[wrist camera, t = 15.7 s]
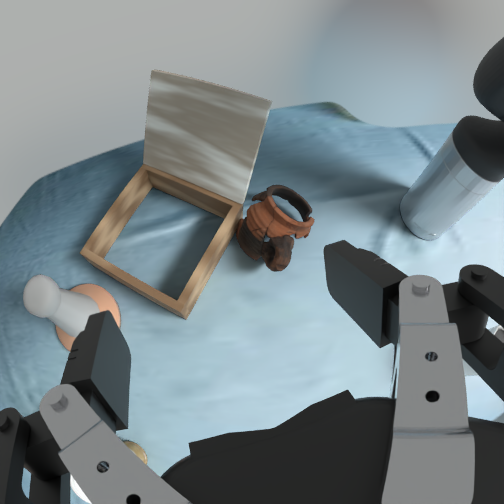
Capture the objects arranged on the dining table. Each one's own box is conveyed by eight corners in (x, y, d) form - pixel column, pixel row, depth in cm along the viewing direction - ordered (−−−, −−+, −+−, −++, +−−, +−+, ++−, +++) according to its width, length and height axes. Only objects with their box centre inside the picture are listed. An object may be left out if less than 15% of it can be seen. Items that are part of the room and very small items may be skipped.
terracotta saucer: (80, 273, 40) (77, 271, 39) (134, 307, 39) (131, 305, 38) (48, 332, 37) (44, 330, 36) (99, 371, 35) (96, 371, 34)
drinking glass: (458, 387, 36) (502, 383, 27) (441, 353, 38) (485, 341, 29) (482, 362, 38) (525, 352, 28) (466, 329, 40) (508, 313, 31)
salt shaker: (64, 308, 37) (10, 278, 25) (98, 291, 39) (50, 254, 27) (77, 348, 35) (21, 330, 23) (112, 331, 37) (63, 307, 25)
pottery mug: (228, 213, 46) (255, 171, 40) (282, 228, 50) (312, 191, 45) (236, 283, 39) (271, 242, 33) (299, 293, 43) (337, 258, 37)
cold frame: (172, 152, 49) (155, 67, 33) (260, 187, 47) (272, 99, 31) (92, 265, 41) (30, 202, 25) (186, 319, 39) (153, 275, 23)
